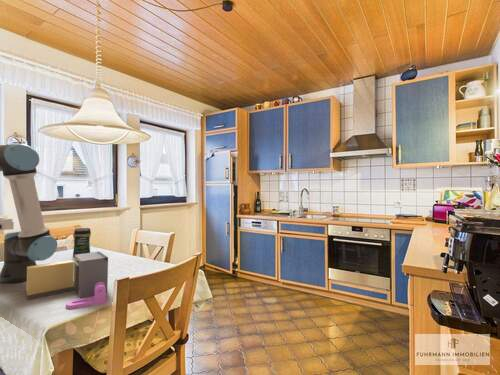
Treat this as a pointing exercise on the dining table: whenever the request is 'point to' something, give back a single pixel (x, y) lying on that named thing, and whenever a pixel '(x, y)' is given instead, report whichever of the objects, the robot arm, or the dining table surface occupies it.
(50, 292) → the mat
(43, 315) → the dining table surface
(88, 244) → the coffee jar
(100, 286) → the bracket
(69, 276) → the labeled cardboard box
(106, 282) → the dispenser
